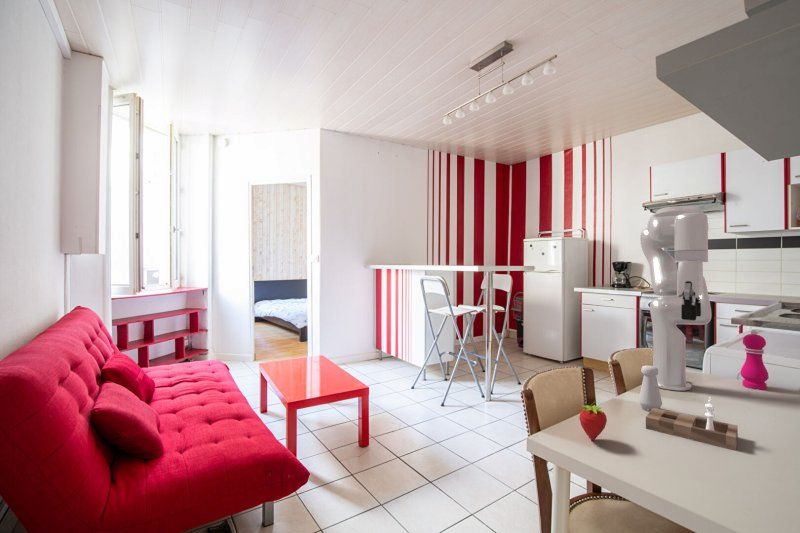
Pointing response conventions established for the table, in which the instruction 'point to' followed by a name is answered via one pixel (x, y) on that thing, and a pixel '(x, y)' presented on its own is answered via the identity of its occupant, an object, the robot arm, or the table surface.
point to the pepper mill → (754, 362)
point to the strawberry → (592, 421)
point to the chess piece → (709, 415)
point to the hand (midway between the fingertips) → (691, 317)
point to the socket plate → (692, 428)
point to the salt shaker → (650, 389)
